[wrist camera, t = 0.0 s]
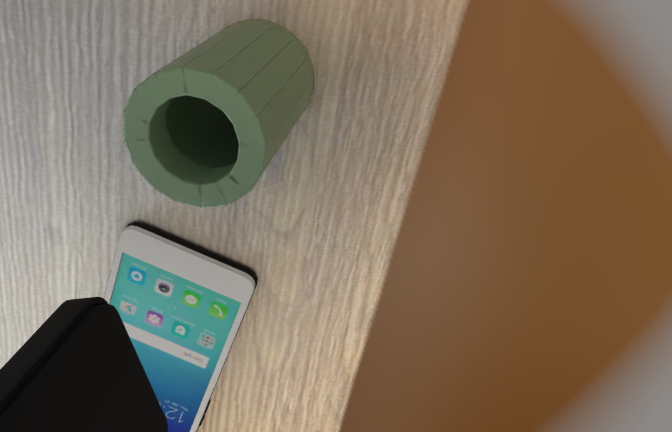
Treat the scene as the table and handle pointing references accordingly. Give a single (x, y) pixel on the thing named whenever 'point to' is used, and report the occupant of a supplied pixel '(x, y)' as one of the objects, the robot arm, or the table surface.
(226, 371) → the table surface
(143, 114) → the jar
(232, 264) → the smartphone
